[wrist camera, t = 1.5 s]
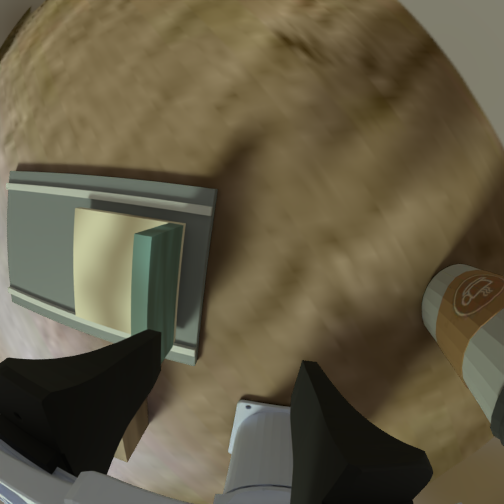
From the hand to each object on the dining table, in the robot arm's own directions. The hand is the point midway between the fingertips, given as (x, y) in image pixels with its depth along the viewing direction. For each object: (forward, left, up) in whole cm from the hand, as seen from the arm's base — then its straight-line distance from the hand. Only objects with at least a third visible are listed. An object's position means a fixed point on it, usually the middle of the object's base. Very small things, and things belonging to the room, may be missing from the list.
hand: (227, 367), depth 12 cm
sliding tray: (+9, 0, -10) cm, 14 cm away
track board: (+14, 0, -10) cm, 18 cm away
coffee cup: (-17, -2, -11) cm, 20 cm away
